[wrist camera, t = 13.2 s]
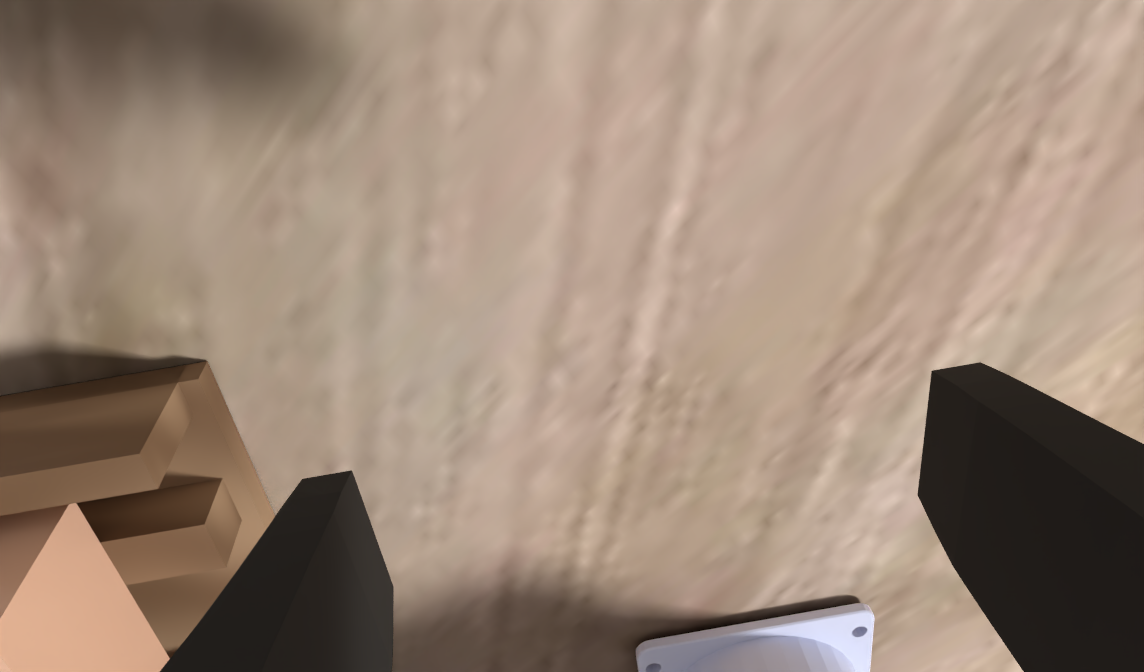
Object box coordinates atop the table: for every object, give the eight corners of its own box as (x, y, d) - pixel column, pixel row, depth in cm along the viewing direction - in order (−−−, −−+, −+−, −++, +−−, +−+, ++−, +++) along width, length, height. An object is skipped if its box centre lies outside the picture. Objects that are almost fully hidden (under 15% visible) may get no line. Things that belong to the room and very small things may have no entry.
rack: (357, 705, 28) (344, 808, 25) (90, 752, 28) (45, 862, 25) (207, 361, 21) (162, 449, 18) (-156, 422, 20) (-263, 522, 18)
